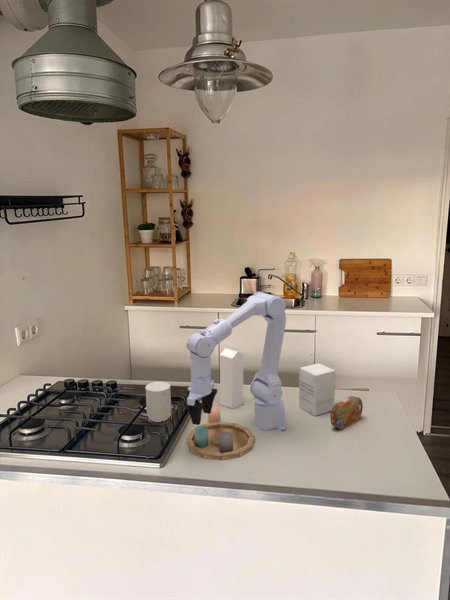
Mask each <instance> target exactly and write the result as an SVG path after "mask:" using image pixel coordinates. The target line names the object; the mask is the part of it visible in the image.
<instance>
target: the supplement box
mask: <svg viewBox="0 0 450 600" xmlns="http://www.w3.org/2000/svg"><path fill="white" fill-rule="evenodd" d="M298 380H299V385H298V387H299V389H298V395H299V396H298V407H299V408H300V409H302V410H303V409H304V410H303V411H305V412H307V413H309V414H311V415H312V416H314V417H317V416H321V415H323V414H326V413H329V411H330V412H331V410H332V408H333V406H334V405H335V396H336V395H335V394H336V393H335V390H336V388H335V387H336V386H335V385H336V370H335V369H333V368H330V367H329V366H326V365H324V364H322V363H319V362H318V363H314V364H310V365H306V366H305V365H304V366H302V367H299V379H298Z"/></svg>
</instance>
